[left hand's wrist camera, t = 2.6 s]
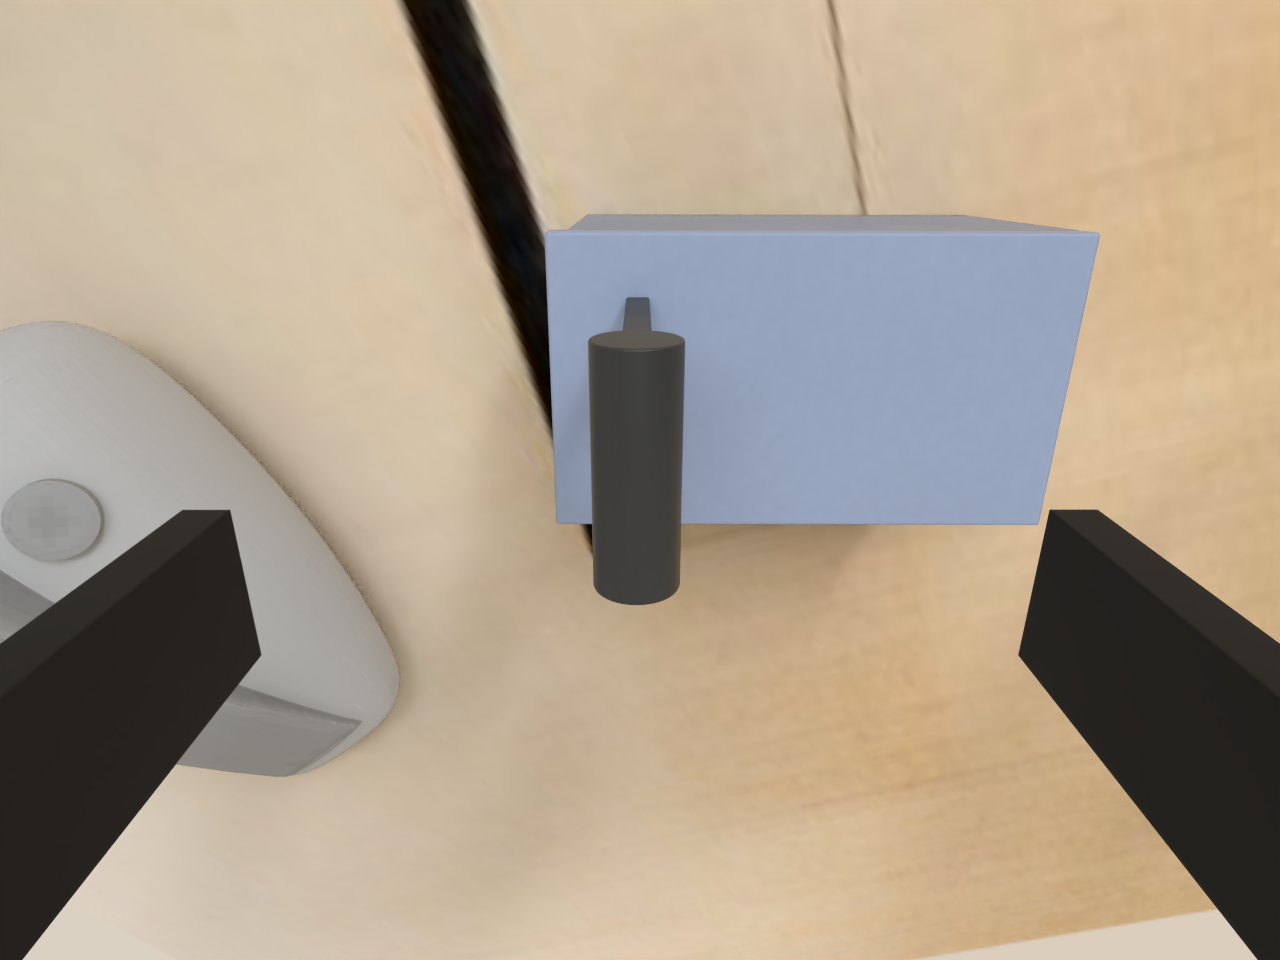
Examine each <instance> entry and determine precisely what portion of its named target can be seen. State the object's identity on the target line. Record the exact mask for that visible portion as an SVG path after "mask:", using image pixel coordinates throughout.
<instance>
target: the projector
mask: <svg viewBox="0 0 1280 960" xmlns="http://www.w3.org/2000/svg"><path fill="white" fill-rule="evenodd" d="M181 510H230V511H231V515H232V520H233V525H234V529H235V534H236V539H237V543H238V548H239V552H240V557H241V562H242V566H243V571H244V576H245V580H246V585H247V590H248V594H249V599H250V604H251V608H252V613H253V618H254V622H255V627H256V632H257V636H258V641H259V645H260V650H261V657H260V658H259V659H258V660H257V662H256V663H255V664H254V666H253V667H252V668H251V669H250V671H249V672H248V673H247V674H246V676H245V677H244V678H243V680H242V681H241V682H240V683H239V685H238V686H237V687H236V688H235V690H234V691H233V692H232V694H231V695H230V696H229V697H228V699H227V700H226V701H225V702H224V704H223V705H222V706H221V708H220V709H219V710H218V711H217V713H216V714H215V715H214V716H213V718H212V719H211V720H210V722H209V723H208V724H207V725H206V727H205V728H204V729H203V730H202V732H201V733H200V734H199V736H198V737H197V738H196V739H195V741H194V742H193V743H192V744H191V746H190V747H189V748H188V750H187V751H186V752H185V753H184V755H183V756H182V757H181V758H180V760H179V761H178V762H177V764H178V765H185V766H192V767H198V768H206V769H213V770H221V771H229V772H237V773H246V774H255V775H265V776H276V777H286V776H291V775H298V774H302V773H306V772H308V771H311V770H314V769H316V768H318V767H320V766H322V765H324V764H326V763H327V762H329V761H331V760H332V759H334V758H336V757H337V756H339V755H340V754H341V753H343V752H344V751H346V750H347V749H349V748H350V747H351V746H353V745H354V744H356V743H357V742H358V741H360V740H361V739H362V738H364V737H365V736H366V735H367V734H369V733H370V732H371V731H372V730H373V729H375V728H376V727H377V726H378V725H379V724H380V723H381V722H382V721H383V720H384V719H385V717H386V716H387V715H388V714H389V712H390V711H391V709H392V707H393V706H394V704H395V701H396V699H397V695H398V691H399V686H400V672H399V668H398V665H397V661H396V659H395V657H394V654H393V652H392V650H391V647H390V645H389V643H388V641H387V639H386V637H385V635H384V634H383V632H382V630H381V628H380V626H379V624H378V622H377V620H376V619H375V617H374V615H373V614H372V612H371V610H370V609H369V607H368V605H367V604H366V602H365V600H364V599H363V597H362V595H361V594H360V592H359V591H358V589H357V588H356V586H355V585H354V583H353V581H352V580H351V578H350V577H349V575H348V574H347V572H346V571H345V569H344V568H343V566H342V565H341V563H340V562H339V560H338V559H337V558H336V556H335V555H334V554H333V552H332V551H331V549H330V548H329V547H328V545H327V544H326V542H325V541H324V540H323V538H322V537H321V536H320V534H319V533H318V532H317V531H316V529H315V528H314V527H313V525H312V524H311V523H310V522H309V520H308V519H307V518H306V516H305V515H304V514H303V513H302V512H301V510H300V509H299V508H298V507H297V506H296V504H295V503H294V502H293V501H292V500H291V499H290V497H289V496H288V495H287V494H286V493H285V491H284V490H283V489H282V488H281V487H280V485H279V484H278V483H277V482H276V481H275V480H274V479H273V478H272V477H271V475H270V474H269V473H268V472H267V471H266V470H265V469H264V468H263V467H262V466H261V464H260V463H259V462H258V461H257V460H256V459H255V458H254V457H253V456H252V455H251V454H250V452H249V451H248V450H247V449H246V448H245V447H244V446H243V445H242V444H241V443H240V442H239V441H238V440H237V439H236V438H235V437H234V436H233V435H232V434H231V433H230V432H229V431H228V430H227V429H226V428H225V427H224V426H223V425H222V424H221V423H220V422H219V421H218V420H217V419H216V418H215V417H214V416H213V415H212V414H211V413H210V412H209V411H208V410H207V409H206V408H205V407H204V406H203V405H202V404H201V403H200V402H199V401H198V400H196V399H195V398H194V397H193V396H192V395H191V394H190V393H189V392H188V391H186V390H185V389H184V388H183V387H182V386H181V385H180V384H179V383H178V382H177V381H175V380H174V379H173V378H172V377H171V376H169V375H168V374H167V373H166V372H164V371H163V370H162V369H161V368H160V367H158V366H157V365H156V364H155V363H153V362H152V361H151V360H149V359H148V358H147V357H145V356H144V355H142V354H141V353H139V352H138V351H137V350H135V349H134V348H132V347H131V346H129V345H128V344H126V343H124V342H122V341H120V340H119V339H117V338H115V337H113V336H111V335H109V334H107V333H104V332H102V331H99V330H97V329H94V328H92V327H88V326H84V325H81V324H76V323H70V322H62V321H44V322H34V323H28V324H24V325H19V326H15V327H11V328H8V329H5V330H2V331H0V644H1V643H2V642H3V641H5V640H6V639H7V638H9V637H10V636H11V635H13V634H14V633H15V632H17V631H18V630H20V629H21V628H22V627H24V626H25V625H26V624H28V623H29V622H30V621H32V620H33V619H35V618H36V617H37V616H39V615H40V614H41V613H43V612H44V611H45V610H47V609H48V608H50V607H51V606H52V605H54V604H55V603H56V602H58V601H59V600H60V599H62V598H63V597H64V596H66V595H67V594H69V593H70V592H71V591H73V590H74V589H75V588H77V587H78V586H79V585H81V584H82V583H84V582H85V581H86V580H88V579H89V578H90V577H92V576H93V575H94V574H96V573H97V572H98V571H100V570H101V569H103V568H104V567H105V566H107V565H108V564H109V563H111V562H112V561H113V560H115V559H116V558H118V557H119V556H120V555H122V554H123V553H124V552H126V551H127V550H128V549H130V548H131V547H133V546H134V545H135V544H137V543H138V542H139V541H141V540H142V539H143V538H145V537H146V536H147V535H149V534H150V533H152V532H153V531H154V530H156V529H157V528H158V527H160V526H161V525H162V524H164V523H165V522H167V521H168V520H169V519H171V518H172V517H173V516H175V515H176V514H177V513H179V512H180V511H181Z"/></svg>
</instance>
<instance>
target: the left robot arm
mask: <svg viewBox="0 0 1280 960" xmlns="http://www.w3.org/2000/svg"><path fill="white" fill-rule="evenodd" d="M260 657H261V650H260V645H259V641H258V636H257V632H256V627H255V622H254V618H253V613H252V608H251V604H250V599H249V594H248V590H247V585H246V580H245V576H244V571H243V566H242V562H241V557H240V552H239V548H238V543H237V539H236V534H235V529H234V525H233V520H232V515H231V511H230V510H181V511H180V512H179V513H177V514H176V515H175V516H173V517H172V518H171V519H169V520H168V521H167V522H165V523H164V524H162V525H161V526H160V527H158V528H157V529H156V530H154V531H153V532H152V533H150V534H149V535H147V536H146V537H145V538H143V539H142V540H141V541H139V542H138V543H137V544H135V545H134V546H133V547H131V548H130V549H128V550H127V551H126V552H124V553H123V554H122V555H120V556H119V557H118V558H116V559H115V560H113V561H112V562H111V563H109V564H108V565H107V566H105V567H104V568H103V569H101V570H100V571H98V572H97V573H96V574H94V575H93V576H92V577H90V578H89V579H88V580H86V581H85V582H84V583H82V584H81V585H79V586H78V587H77V588H75V589H74V590H73V591H71V592H70V593H69V594H67V595H66V596H64V597H63V598H62V599H60V600H59V601H58V602H56V603H55V604H54V605H52V606H51V607H50V608H48V609H47V610H45V611H44V612H43V613H41V614H40V615H39V616H37V617H36V618H35V619H33V620H32V621H30V622H29V623H28V624H26V625H25V626H24V627H22V628H21V629H20V630H18V631H17V632H15V633H14V634H13V635H11V636H10V637H9V638H7V639H6V640H5V641H3V642H2V643H1V644H0V960H22V959H23V958H24V957H25V956H26V954H27V953H28V952H29V951H30V949H31V948H32V947H33V946H34V944H35V943H36V942H37V940H38V939H39V938H40V937H41V935H42V934H43V933H44V932H45V930H46V929H47V928H48V926H49V925H50V924H51V923H52V921H53V920H54V919H55V918H56V916H57V915H58V914H59V912H60V911H61V910H62V909H63V907H64V906H65V905H66V904H67V902H68V901H69V900H70V898H71V897H72V896H73V895H74V893H75V892H76V891H77V890H78V888H79V887H80V886H81V884H82V883H83V882H84V881H85V879H86V878H87V877H88V876H89V874H90V873H91V872H92V870H93V869H94V868H95V867H96V865H97V864H98V863H99V862H100V860H101V859H102V858H103V856H104V855H105V854H106V853H107V851H108V850H109V849H110V848H111V846H112V845H113V844H114V842H115V841H116V840H117V839H118V837H119V836H120V835H121V834H122V832H123V831H124V830H125V828H126V827H127V826H128V825H129V823H130V822H131V821H132V820H133V818H134V817H135V816H136V814H137V813H138V812H139V811H140V809H141V808H142V807H143V806H144V804H145V803H146V802H147V800H148V799H149V798H150V797H151V795H152V794H153V793H154V792H155V790H156V789H157V788H158V786H159V785H160V784H161V783H162V781H163V780H164V779H165V778H166V776H167V775H168V774H169V772H170V771H171V770H172V769H173V767H174V766H175V765H176V764H177V762H178V761H179V760H180V758H181V757H182V756H183V755H184V753H185V752H186V751H187V750H188V748H189V747H190V746H191V744H192V743H193V742H194V741H195V739H196V738H197V737H198V736H199V734H200V733H201V732H202V730H203V729H204V728H205V727H206V725H207V724H208V723H209V722H210V720H211V719H212V718H213V716H214V715H215V714H216V713H217V711H218V710H219V709H220V708H221V706H222V705H223V704H224V702H225V701H226V700H227V699H228V697H229V696H230V695H231V694H232V692H233V691H234V690H235V688H236V687H237V686H238V685H239V683H240V682H241V681H242V680H243V678H244V677H245V676H246V674H247V673H248V672H249V671H250V669H251V668H252V667H253V666H254V664H255V663H256V662H257V660H258V659H259V658H260ZM1019 657H1020V658H1021V659H1022V660H1023V662H1024V663H1025V664H1026V666H1027V667H1028V668H1029V669H1030V671H1031V672H1032V673H1033V674H1034V676H1035V677H1036V678H1037V680H1038V681H1039V682H1040V683H1041V685H1042V686H1043V687H1044V688H1045V690H1046V691H1047V692H1048V694H1049V695H1050V696H1051V697H1052V699H1053V700H1054V701H1055V702H1056V704H1057V705H1058V706H1059V708H1060V709H1061V710H1062V711H1063V713H1064V714H1065V715H1066V716H1067V718H1068V719H1069V720H1070V722H1071V723H1072V724H1073V725H1074V727H1075V728H1076V729H1077V730H1078V732H1079V733H1080V734H1081V736H1082V737H1083V738H1084V739H1085V741H1086V742H1087V743H1088V744H1089V746H1090V747H1091V748H1092V750H1093V751H1094V752H1095V753H1096V755H1097V756H1098V757H1099V758H1100V760H1101V761H1102V762H1103V764H1104V765H1105V766H1106V767H1107V769H1108V770H1109V771H1110V772H1111V774H1112V775H1113V776H1114V778H1115V779H1116V780H1117V781H1118V783H1119V784H1120V785H1121V786H1122V788H1123V789H1124V790H1125V792H1126V793H1127V794H1128V795H1129V797H1130V798H1131V799H1132V800H1133V802H1134V803H1135V804H1136V806H1137V807H1138V808H1139V809H1140V811H1141V812H1142V813H1143V814H1144V816H1145V817H1146V818H1147V820H1148V821H1149V822H1150V823H1151V825H1152V826H1153V827H1154V828H1155V830H1156V831H1157V832H1158V834H1159V835H1160V836H1161V837H1162V839H1163V840H1164V841H1165V842H1166V844H1167V845H1168V846H1169V848H1170V849H1171V850H1172V851H1173V853H1174V854H1175V855H1176V856H1177V858H1178V859H1179V860H1180V862H1181V863H1182V864H1183V865H1184V867H1185V868H1186V869H1187V870H1188V872H1189V873H1190V874H1191V876H1192V877H1193V878H1194V879H1195V881H1196V882H1197V883H1198V884H1199V886H1200V887H1201V888H1202V890H1203V891H1204V892H1205V893H1206V895H1207V896H1208V897H1209V898H1210V900H1211V901H1212V902H1213V904H1214V905H1215V906H1216V907H1217V909H1218V910H1219V911H1220V912H1221V914H1222V915H1223V916H1224V918H1225V919H1226V920H1227V921H1228V923H1229V924H1230V925H1231V926H1232V928H1233V929H1234V930H1235V932H1236V933H1237V934H1238V935H1239V937H1240V938H1241V939H1242V940H1243V942H1244V943H1245V944H1246V946H1247V947H1248V948H1249V949H1250V951H1251V952H1252V953H1253V954H1254V956H1255V957H1256V958H1257V960H1280V644H1279V643H1278V642H1277V641H1275V640H1274V639H1273V638H1271V637H1270V636H1269V635H1267V634H1266V633H1265V632H1263V631H1262V630H1260V629H1259V628H1258V627H1256V626H1255V625H1254V624H1252V623H1251V622H1250V621H1248V620H1247V619H1245V618H1244V617H1243V616H1241V615H1240V614H1239V613H1237V612H1236V611H1235V610H1233V609H1232V608H1230V607H1229V606H1228V605H1226V604H1225V603H1224V602H1222V601H1221V600H1220V599H1218V598H1217V597H1216V596H1214V595H1213V594H1211V593H1210V592H1209V591H1207V590H1206V589H1205V588H1203V587H1202V586H1201V585H1199V584H1198V583H1196V582H1195V581H1194V580H1192V579H1191V578H1190V577H1188V576H1187V575H1186V574H1184V573H1183V572H1182V571H1180V570H1179V569H1177V568H1176V567H1175V566H1173V565H1172V564H1171V563H1169V562H1168V561H1167V560H1165V559H1164V558H1162V557H1161V556H1160V555H1158V554H1157V553H1156V552H1154V551H1153V550H1152V549H1150V548H1149V547H1147V546H1146V545H1145V544H1143V543H1142V542H1141V541H1139V540H1138V539H1137V538H1135V537H1134V536H1133V535H1131V534H1130V533H1128V532H1127V531H1126V530H1124V529H1123V528H1122V527H1120V526H1119V525H1118V524H1116V523H1115V522H1113V521H1112V520H1111V519H1109V518H1108V517H1107V516H1105V515H1104V514H1103V513H1101V512H1100V511H1099V510H1050V511H1049V515H1048V520H1047V525H1046V529H1045V534H1044V539H1043V543H1042V548H1041V552H1040V557H1039V562H1038V566H1037V571H1036V576H1035V580H1034V585H1033V590H1032V594H1031V599H1030V604H1029V608H1028V613H1027V618H1026V622H1025V627H1024V631H1023V636H1022V641H1021V645H1020V650H1019Z"/></svg>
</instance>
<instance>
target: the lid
mask: <svg viewBox="0 0 1280 960" xmlns="http://www.w3.org/2000/svg"><path fill="white" fill-rule="evenodd" d="M1099 237H1100V235H1099V234H1098V233H1094V232H1086V231H893V230H550V231H548V232H546V233H545V256H546V280H547V304H548V327H549V351H550V375H551V398H552V422H553V446H554V469H555V493H556V517H557V523H558V524H592V536H593V578H594V587H595V589H596V591H597V592H598V593H599V594H600V595H601V596H603V597H604V598H606V599H608V600H610V601H613V602H617V603H621V604H628V605H646V604H652V603H657V602H660V601H663V600H665V599H667V598H669V597H671V596H672V595H673V594H674V593H675V592H676V591H677V589H678V588H679V585H680V547H681V524H916V525H1037V524H1038V523H1039V519H1040V514H1041V510H1042V505H1043V500H1044V496H1045V491H1046V486H1047V482H1048V477H1049V472H1050V467H1051V463H1052V458H1053V453H1054V449H1055V444H1056V439H1057V435H1058V430H1059V425H1060V420H1061V416H1062V411H1063V406H1064V402H1065V397H1066V392H1067V388H1068V383H1069V378H1070V373H1071V369H1072V364H1073V359H1074V355H1075V350H1076V345H1077V341H1078V336H1079V331H1080V326H1081V322H1082V317H1083V312H1084V308H1085V303H1086V298H1087V294H1088V289H1089V284H1090V279H1091V275H1092V270H1093V265H1094V261H1095V256H1096V251H1097V247H1098V242H1099Z"/></svg>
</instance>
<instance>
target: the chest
mask: <svg viewBox="0 0 1280 960" xmlns="http://www.w3.org/2000/svg"><path fill="white" fill-rule="evenodd" d="M568 230H893V231H1078V230H1072V229H1064V228H1056V227H1049V226H1041V225H1033V224H1026V223H1018V222H1010V221H1003V220H995V219H987V218H980V217H972V216H965V215H586V216H585V217H584V218H583V219H581V220H580V221H579V222H578V223H576V224H575V225H574V226H572V227H571V228H570V229H568Z"/></svg>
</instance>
